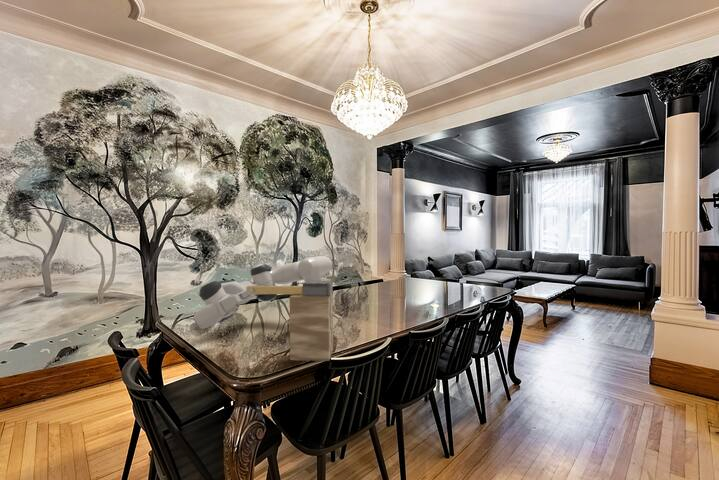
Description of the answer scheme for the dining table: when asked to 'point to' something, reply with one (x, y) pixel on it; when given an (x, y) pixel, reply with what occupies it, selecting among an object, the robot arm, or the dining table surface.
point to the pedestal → (311, 327)
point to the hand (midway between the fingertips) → (255, 288)
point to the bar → (276, 289)
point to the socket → (317, 288)
